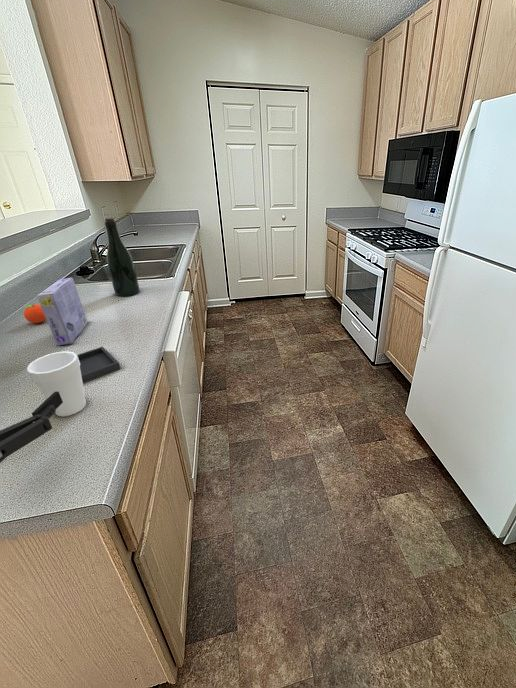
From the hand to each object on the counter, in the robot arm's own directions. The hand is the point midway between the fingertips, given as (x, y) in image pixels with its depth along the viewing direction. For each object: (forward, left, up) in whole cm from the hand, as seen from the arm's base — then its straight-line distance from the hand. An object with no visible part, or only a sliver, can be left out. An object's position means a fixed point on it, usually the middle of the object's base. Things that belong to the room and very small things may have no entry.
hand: (25, 397), depth 67 cm
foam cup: (-7, +7, -11) cm, 15 cm away
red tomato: (-72, +12, -11) cm, 74 cm away
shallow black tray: (-23, +15, -11) cm, 29 cm away
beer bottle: (-80, +48, -11) cm, 94 cm away
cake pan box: (-52, +19, -11) cm, 56 cm away
